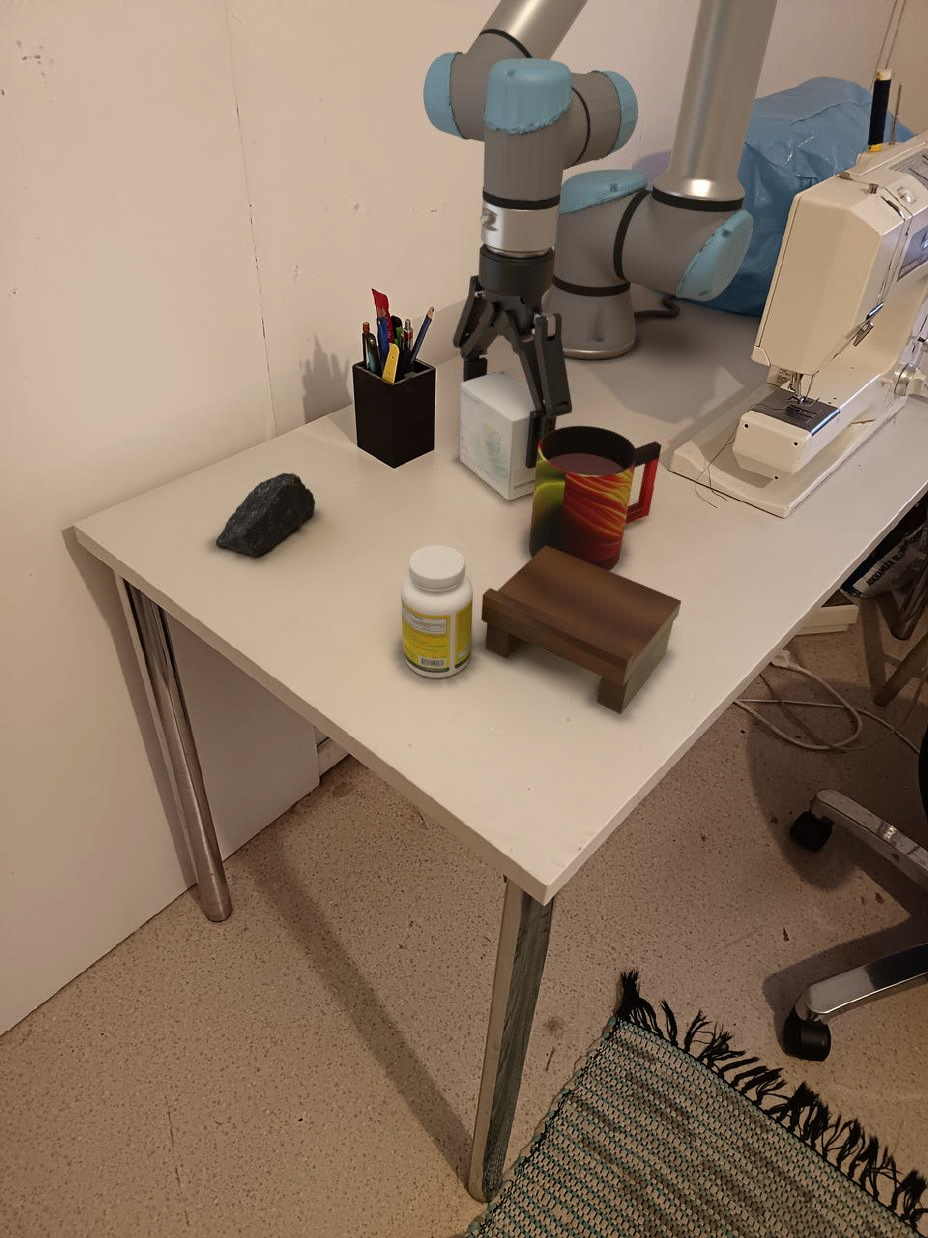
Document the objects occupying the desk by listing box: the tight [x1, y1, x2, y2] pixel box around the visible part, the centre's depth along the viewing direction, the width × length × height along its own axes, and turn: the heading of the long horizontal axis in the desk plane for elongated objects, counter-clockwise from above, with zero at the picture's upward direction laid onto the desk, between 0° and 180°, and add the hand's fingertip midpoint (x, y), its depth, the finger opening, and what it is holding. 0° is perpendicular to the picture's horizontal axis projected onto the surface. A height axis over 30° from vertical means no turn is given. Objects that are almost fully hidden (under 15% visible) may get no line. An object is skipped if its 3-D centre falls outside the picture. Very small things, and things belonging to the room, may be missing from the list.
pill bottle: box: [400, 544, 474, 679], centre depth 76 cm, size 6×6×11 cm
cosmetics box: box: [459, 369, 545, 502], centre depth 100 cm, size 10×6×10 cm, turn 33°
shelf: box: [480, 545, 682, 715], centre depth 79 cm, size 11×14×7 cm
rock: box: [215, 472, 316, 557], centre depth 92 cm, size 7×10×6 cm
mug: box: [528, 425, 662, 571], centre depth 90 cm, size 10×14×12 cm
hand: (504, 437), depth 100 cm, fingers open, 13 cm apart
